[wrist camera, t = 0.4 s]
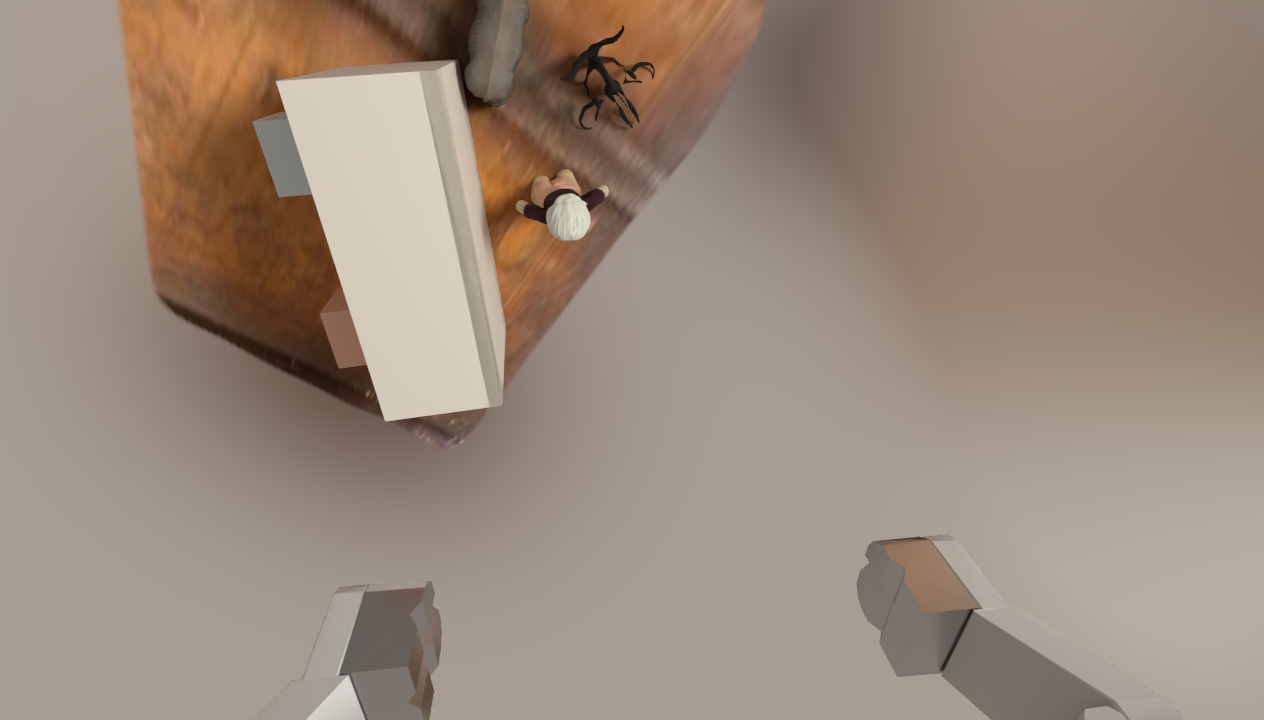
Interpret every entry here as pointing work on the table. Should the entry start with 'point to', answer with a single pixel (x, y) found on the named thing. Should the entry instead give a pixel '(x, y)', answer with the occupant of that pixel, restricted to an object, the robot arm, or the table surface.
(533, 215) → the grandmother figurine
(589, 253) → the table surface
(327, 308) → the button two
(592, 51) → the creature
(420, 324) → the block
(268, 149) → the button one
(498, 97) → the rhino figurine
